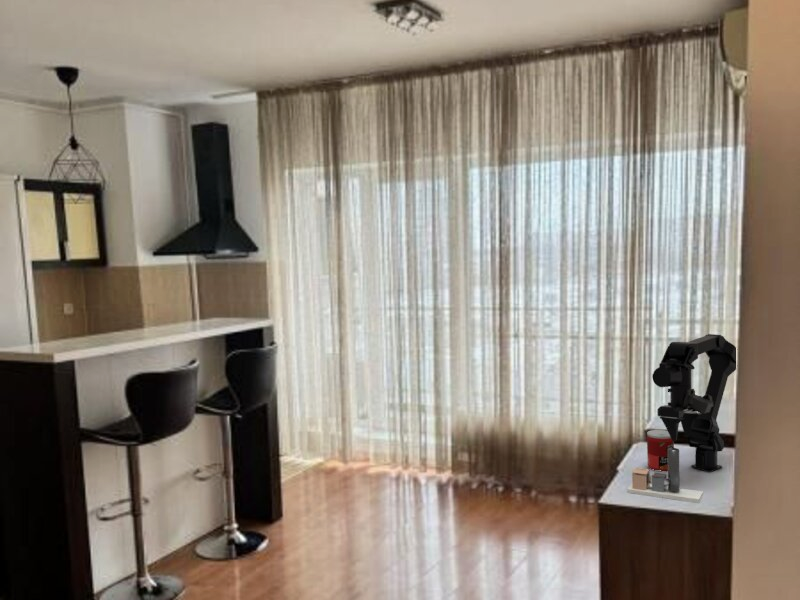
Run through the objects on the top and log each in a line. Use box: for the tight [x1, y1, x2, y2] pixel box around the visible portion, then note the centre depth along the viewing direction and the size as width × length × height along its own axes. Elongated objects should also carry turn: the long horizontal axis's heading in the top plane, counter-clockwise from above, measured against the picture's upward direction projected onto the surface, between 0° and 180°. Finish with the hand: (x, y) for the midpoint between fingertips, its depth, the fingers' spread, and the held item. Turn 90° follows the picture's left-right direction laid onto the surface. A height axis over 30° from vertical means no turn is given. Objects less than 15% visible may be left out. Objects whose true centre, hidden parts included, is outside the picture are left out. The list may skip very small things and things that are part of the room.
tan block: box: [631, 467, 651, 490], centre depth 200 cm, size 4×4×5 cm
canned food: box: [646, 429, 675, 472], centre depth 218 cm, size 8×8×11 cm
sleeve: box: [651, 472, 668, 492], centre depth 198 cm, size 3×3×4 cm
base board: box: [626, 483, 704, 504], centre depth 197 cm, size 19×6×1 cm, turn 58°
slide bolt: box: [646, 447, 681, 492], centre depth 197 cm, size 11×3×12 cm, turn 58°
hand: (681, 438), depth 205 cm, fingers open, 9 cm apart
